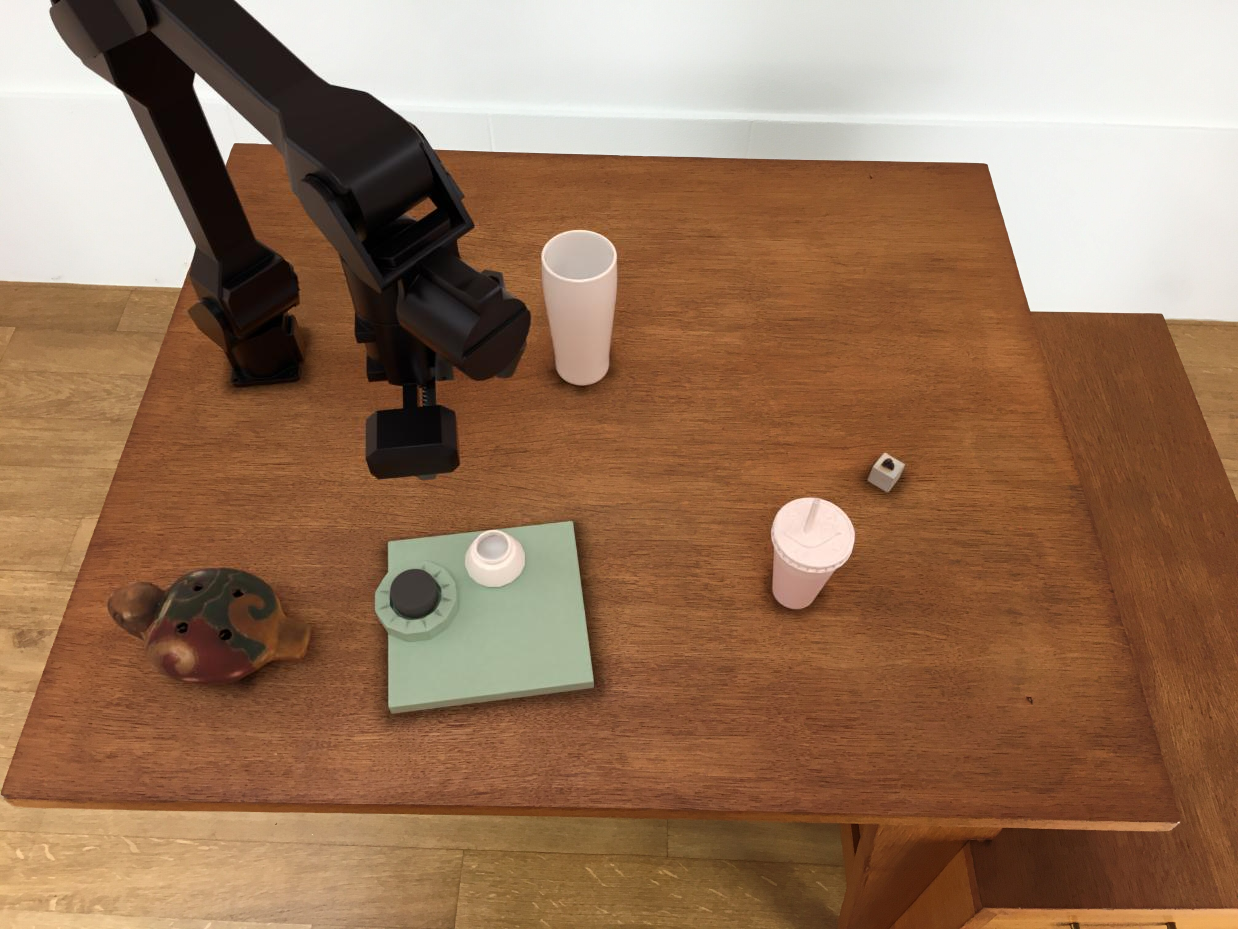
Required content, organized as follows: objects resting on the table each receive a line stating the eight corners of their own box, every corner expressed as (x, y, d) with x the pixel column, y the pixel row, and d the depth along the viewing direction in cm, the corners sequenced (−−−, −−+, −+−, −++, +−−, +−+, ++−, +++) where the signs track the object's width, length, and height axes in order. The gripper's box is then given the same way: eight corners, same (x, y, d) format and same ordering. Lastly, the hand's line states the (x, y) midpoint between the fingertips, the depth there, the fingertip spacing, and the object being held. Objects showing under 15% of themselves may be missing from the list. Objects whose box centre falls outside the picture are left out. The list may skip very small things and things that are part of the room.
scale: (381, 715, 76) (374, 701, 73) (382, 550, 84) (375, 532, 82) (594, 688, 77) (593, 673, 75) (573, 528, 86) (572, 510, 83)
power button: (393, 621, 77) (389, 611, 76) (393, 581, 79) (389, 571, 78) (439, 615, 78) (436, 605, 76) (437, 576, 80) (434, 566, 78)
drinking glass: (608, 399, 94) (609, 287, 82) (541, 388, 95) (531, 275, 82) (622, 348, 98) (624, 234, 86) (557, 337, 99) (550, 223, 86)
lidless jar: (494, 600, 80) (537, 562, 82) (490, 583, 77) (535, 544, 79) (453, 564, 82) (497, 527, 84) (449, 546, 79) (494, 509, 81)
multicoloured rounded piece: (150, 592, 81) (119, 540, 75) (332, 604, 82) (316, 553, 76) (110, 700, 75) (73, 653, 69) (306, 712, 76) (287, 666, 70)
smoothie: (750, 559, 84) (773, 467, 72) (823, 554, 84) (857, 462, 73) (763, 626, 80) (789, 540, 69) (839, 621, 81) (877, 535, 69)
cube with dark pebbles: (867, 481, 89) (873, 465, 87) (878, 466, 90) (885, 450, 88) (887, 493, 88) (894, 477, 86) (899, 478, 89) (906, 462, 87)
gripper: (525, 390, 60) (537, 519, 73) (505, 193, 71) (518, 336, 84) (345, 406, 59) (388, 534, 72) (351, 203, 70) (388, 347, 83)
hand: (427, 430), depth 78 cm, fingers open, 9 cm apart
